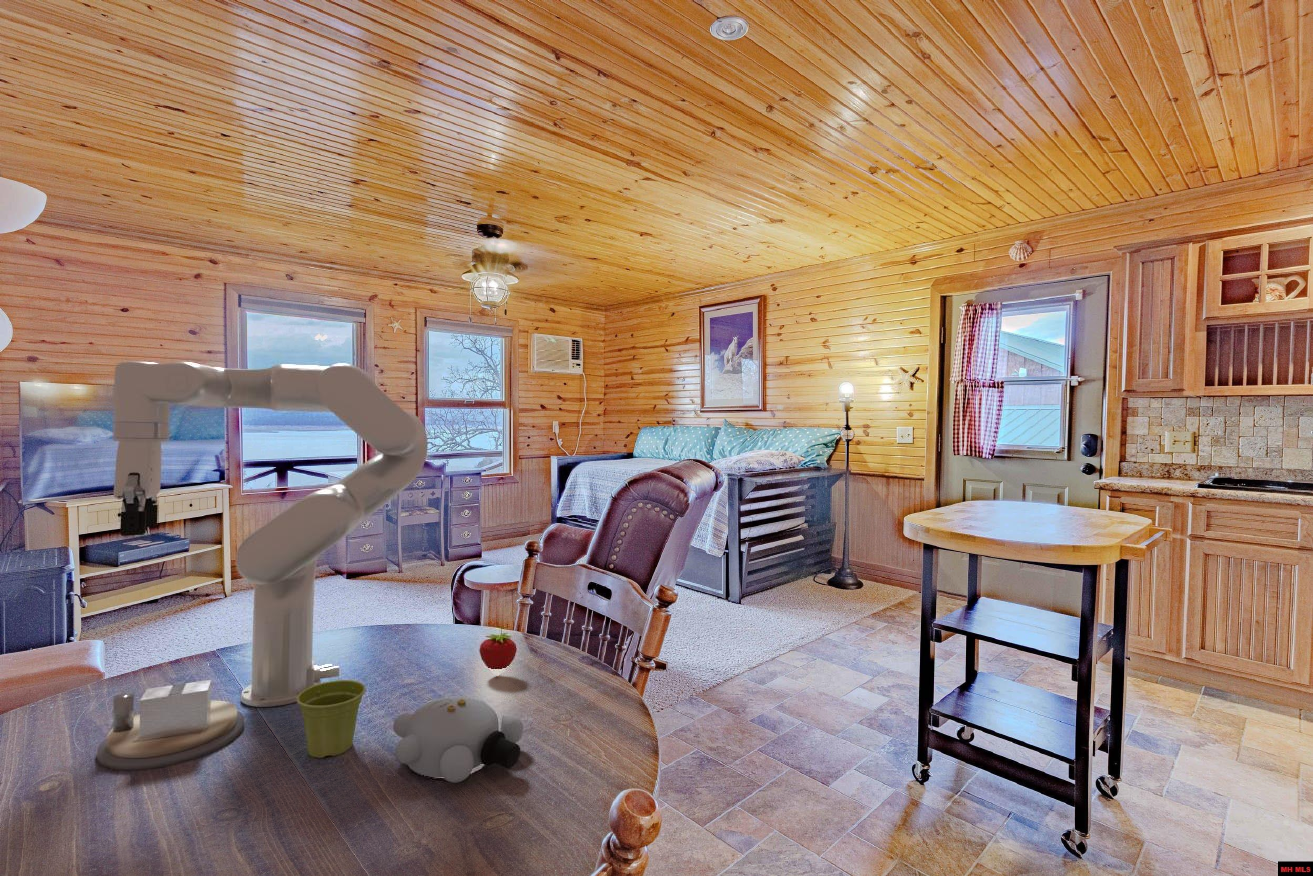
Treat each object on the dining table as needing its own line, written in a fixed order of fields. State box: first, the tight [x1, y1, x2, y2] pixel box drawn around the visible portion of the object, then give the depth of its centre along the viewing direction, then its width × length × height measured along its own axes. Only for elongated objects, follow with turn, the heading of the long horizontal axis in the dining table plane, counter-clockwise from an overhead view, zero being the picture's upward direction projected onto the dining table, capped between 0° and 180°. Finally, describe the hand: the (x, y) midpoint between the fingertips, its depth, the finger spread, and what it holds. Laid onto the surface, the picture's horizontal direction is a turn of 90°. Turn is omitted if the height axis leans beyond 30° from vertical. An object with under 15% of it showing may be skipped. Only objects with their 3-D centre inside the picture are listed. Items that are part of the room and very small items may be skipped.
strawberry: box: [478, 625, 517, 669], centre depth 124 cm, size 6×8×10 cm
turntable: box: [106, 692, 238, 758], centre depth 96 cm, size 16×16×6 cm
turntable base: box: [96, 710, 245, 771], centre depth 97 cm, size 18×20×3 cm
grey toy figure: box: [392, 695, 524, 783], centre depth 92 cm, size 17×8×20 cm
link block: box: [139, 679, 212, 741], centre depth 94 cm, size 4×8×6 cm, turn 120°
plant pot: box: [296, 679, 367, 759], centre depth 94 cm, size 9×9×9 cm
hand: (139, 530), depth 108 cm, fingers open, 9 cm apart
